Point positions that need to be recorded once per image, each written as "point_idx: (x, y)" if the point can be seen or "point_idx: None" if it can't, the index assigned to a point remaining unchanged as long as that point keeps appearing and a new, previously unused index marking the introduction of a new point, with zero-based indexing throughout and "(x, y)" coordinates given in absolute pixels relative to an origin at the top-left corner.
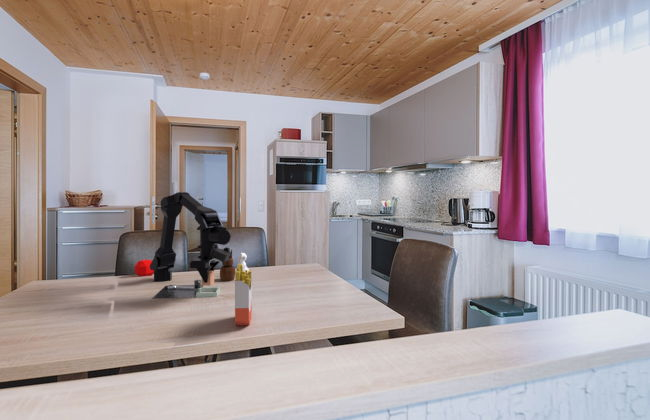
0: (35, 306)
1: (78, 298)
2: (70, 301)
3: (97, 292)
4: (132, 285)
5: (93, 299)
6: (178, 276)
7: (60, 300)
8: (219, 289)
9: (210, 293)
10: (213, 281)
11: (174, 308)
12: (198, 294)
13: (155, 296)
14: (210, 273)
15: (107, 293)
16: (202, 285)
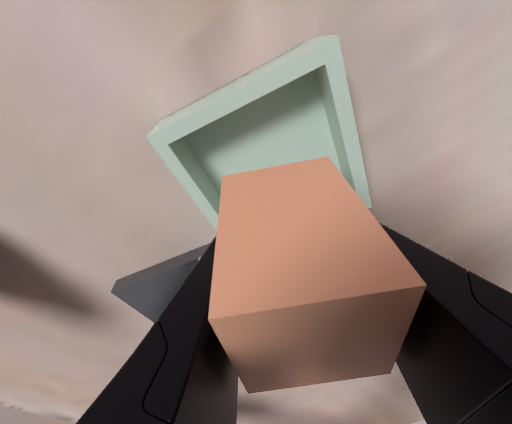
0: (409, 412)
1: (359, 406)
2: (380, 404)
3: (312, 410)
4: (237, 406)
5: (364, 393)
6: (85, 396)
7: (373, 412)
8: (171, 120)
9: (350, 104)
10: (246, 185)
11: (502, 196)
12: (366, 189)
13: None
14: (415, 274)
15: (315, 400)
16: (132, 288)
